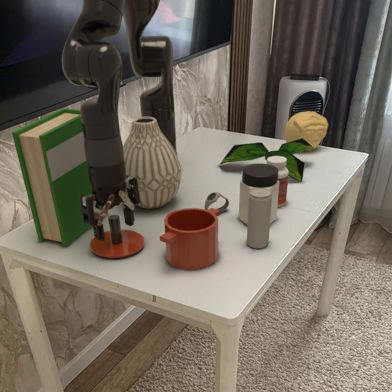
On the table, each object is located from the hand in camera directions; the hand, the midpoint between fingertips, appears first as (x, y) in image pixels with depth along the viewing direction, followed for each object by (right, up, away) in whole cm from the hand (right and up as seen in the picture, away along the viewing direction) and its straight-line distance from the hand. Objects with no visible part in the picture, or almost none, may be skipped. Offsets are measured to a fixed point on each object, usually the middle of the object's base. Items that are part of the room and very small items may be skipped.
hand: (115, 232), depth 111 cm
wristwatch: (+23, +8, +14) cm, 28 cm away
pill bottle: (+37, +11, +18) cm, 43 cm away
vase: (+6, +12, +19) cm, 24 cm away
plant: (+38, +27, +36) cm, 59 cm away
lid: (0, -2, +2) cm, 3 cm away
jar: (+32, +5, +11) cm, 35 cm away
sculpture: (+51, +37, +47) cm, 79 cm away
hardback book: (-11, +3, +10) cm, 15 cm away
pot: (+17, -6, -2) cm, 18 cm away
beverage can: (+31, -2, +2) cm, 31 cm away
